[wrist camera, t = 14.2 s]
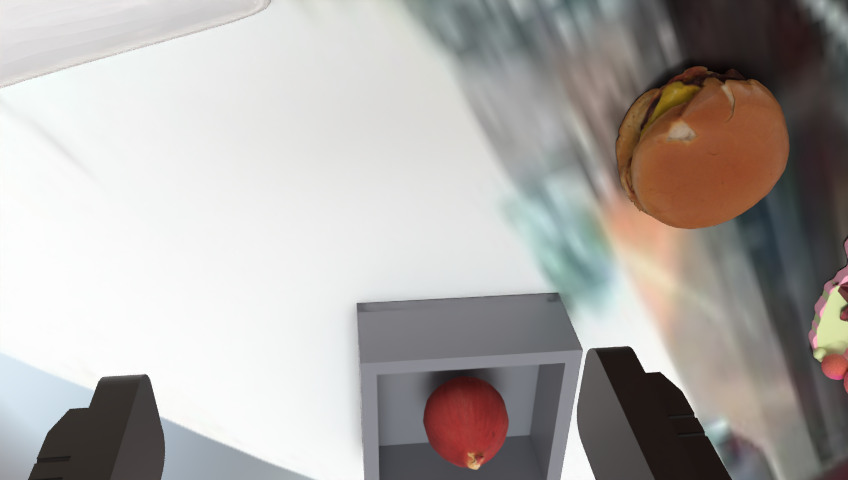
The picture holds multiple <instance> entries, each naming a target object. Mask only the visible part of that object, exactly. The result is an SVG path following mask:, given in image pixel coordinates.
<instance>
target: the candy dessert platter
mask: <svg viewBox="0 0 848 480" xmlns="http://www.w3.org/2000/svg"><path fill="white" fill-rule="evenodd" d="M844 246H845V250H846V254H847V257H848V239H847V240H846V242H845V244H844ZM815 312H816V314H815V317H814V320H813V322H812V329H811V331H810V332H809V340H810V343H811V346H812V349H813V356H814V357H815V358H816V359H818V361H820V362H822V365H821V368H822V371H823V372H824V374H825V375H826V376H827V377H829V378H831V379H835V380H840V379H843V378H844V387H845V389H846V391H847V393H848V265H847V266H846V267H845V268H843V269H841V270H840V271H839V272H838V273H837V274H836V276H835V278H834V279H832V280H830V281H828V282H827V283H826V284H825V285H824V291H823V294H822V296H821V297H820V298H819V300H818V302H817V303H816V304H815Z"/></svg>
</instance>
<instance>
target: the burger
mask: <svg viewBox="0 0 848 480" xmlns="http://www.w3.org/2000/svg"><path fill="white" fill-rule="evenodd" d="M619 134H620V136H619V138H618V140H617V141H616V154H617V161H618V171H619V175H620V180H621V184H622V186H623V188H624V189H625V190H626V192H627V194H628V197H629V199H631V201H632V202H634V205H635V206H636V207H637V209H639V211H641V210H642V211H643V212H645V213H647V214H648V215H650V216H652V217H654V218H655V219H657V220H659V221H660V222H662V223H664V224H666V225H669V226H672V227H676V228H685V229H696V228H705V227H710V226H715V225H718V224H720V223H723V222H726V221H728V220H731V219H733V218H735V217H736V216H738V215H740V214H742V213H743V212H745V211H746V210H748V209H749V208H751V207H752V206H754V205H755V204H756V203H757V202H759V201H760V200H761V199H762V198H763V197H764V196H766V195H767V194H768V193H769V192H770V190H771V189H772V188H773V186H774V185H775V184H776V182H777V181H778V179H779V178H780V176H781V175H782V173H783V171H784V170H785V167H786V163H787V159H788V155H789V139H788V133H787V128H786V123H785V118H784V114H783V112H782V108H781V106H780V105H779V103H778V102H777V100H776V99H775V98H774V96H773V95H772V93H771V92H770V91H769V90H768V89H767V88H766V87H765V86H763V85H762V84H761V83H759V82H758V81H756V80H753V79H749V80H746V79H745V78H744V77H743V76H742V73H739V72H738V71H737V70H734V69H730V70H728V71H727V72H726V73H725V74H717V73H716V72H711V71H707V68H705V67H702V66H698V67H692V68H690V69H687V70H685V71H684V73H683V74H681V75H678V76H675V77H674V78H672V79H671V80H670V81H669V82H668V83H667V84H666V85H664V86H662V87H661V88H660V89H652V90H650V91H648V92H645V93H644V94H643V95H642V96H641V97H640V98H639V99H638V100H637V101H635V103H634V104H633V105H632V107H631V108H630V109H629V111H628V113H627V115H626V116H625V118H624V120H623V122H622V125H621V127H620V129H619Z"/></svg>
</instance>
